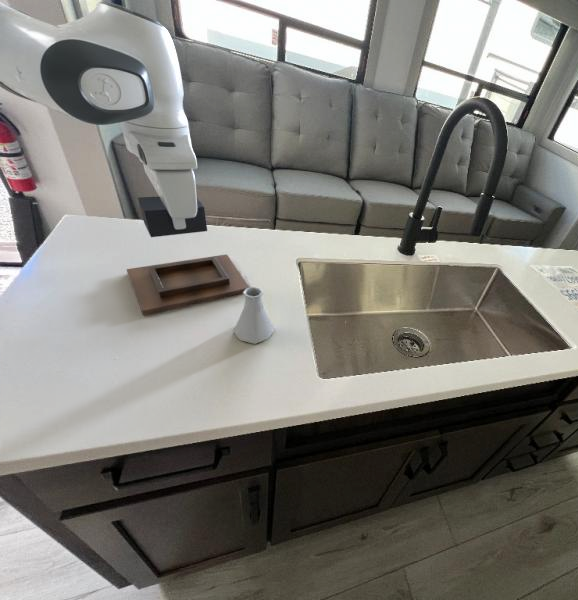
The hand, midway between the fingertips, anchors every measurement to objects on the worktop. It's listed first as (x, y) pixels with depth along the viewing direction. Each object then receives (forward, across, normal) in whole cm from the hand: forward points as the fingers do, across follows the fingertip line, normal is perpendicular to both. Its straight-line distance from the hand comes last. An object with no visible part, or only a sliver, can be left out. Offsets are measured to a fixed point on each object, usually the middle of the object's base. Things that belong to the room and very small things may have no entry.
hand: (174, 219), depth 61 cm
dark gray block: (+2, 0, 0) cm, 2 cm away
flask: (+17, +18, +7) cm, 25 cm away
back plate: (+17, -2, +1) cm, 17 cm away
